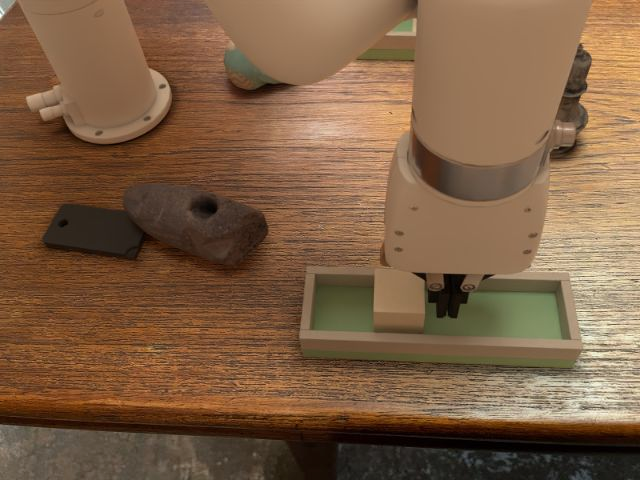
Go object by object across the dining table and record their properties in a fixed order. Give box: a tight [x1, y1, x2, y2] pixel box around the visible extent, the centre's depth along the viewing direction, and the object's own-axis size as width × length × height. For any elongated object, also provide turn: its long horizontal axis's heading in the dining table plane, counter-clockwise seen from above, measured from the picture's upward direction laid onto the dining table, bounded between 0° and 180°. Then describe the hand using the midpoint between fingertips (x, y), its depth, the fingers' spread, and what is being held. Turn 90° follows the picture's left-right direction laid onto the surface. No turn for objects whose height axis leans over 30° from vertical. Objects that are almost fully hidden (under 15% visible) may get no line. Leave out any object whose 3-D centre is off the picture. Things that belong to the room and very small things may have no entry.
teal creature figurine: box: [223, 39, 284, 91], centre depth 72 cm, size 11×7×12 cm
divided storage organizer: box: [298, 265, 584, 369], centre depth 51 cm, size 22×7×4 cm, turn 85°
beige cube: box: [373, 269, 425, 334], centre depth 50 cm, size 4×4×4 cm
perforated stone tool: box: [122, 182, 270, 267], centre depth 57 cm, size 15×5×7 cm, turn 65°
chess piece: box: [550, 42, 593, 159], centre depth 60 cm, size 6×6×12 cm
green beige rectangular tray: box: [355, 18, 417, 61], centre depth 74 cm, size 22×7×4 cm, turn 83°
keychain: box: [41, 203, 148, 260], centre depth 61 cm, size 5×1×10 cm
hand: (445, 302), depth 49 cm, fingers closed
